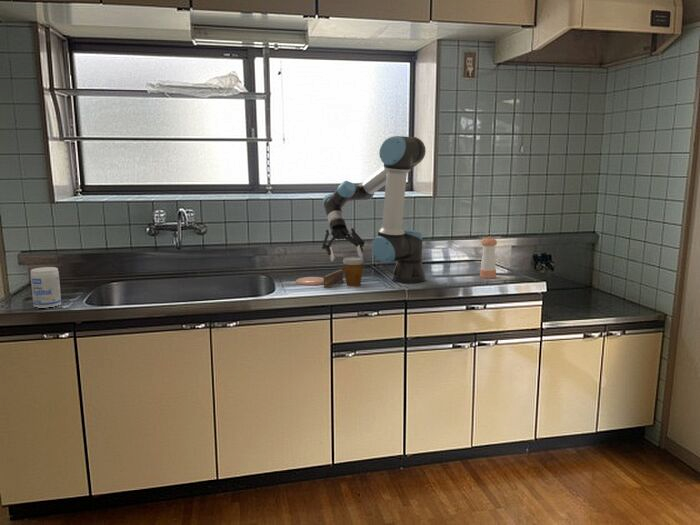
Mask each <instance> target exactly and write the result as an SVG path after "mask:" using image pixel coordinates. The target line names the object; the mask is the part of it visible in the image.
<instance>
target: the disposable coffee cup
mask: <svg viewBox="0 0 700 525" xmlns="http://www.w3.org/2000/svg"><path fill="white" fill-rule="evenodd" d="M364 262H365V260H364V258H361V257H359V256H347V257H343V260H342V264H343V269H344V275H345V276H344V277H345V283H346V284H345V285H346V286H347V287H359V286H361V285H362V284H361V283H362V275H363V268H364Z"/></svg>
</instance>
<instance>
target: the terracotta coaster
mask: <svg viewBox="0 0 700 525" xmlns="http://www.w3.org/2000/svg"><path fill="white" fill-rule="evenodd" d="M295 284H297V285H301V286H321V284H322V285H324V277H321V276H305V277H300V278H297V279H296V280H295Z"/></svg>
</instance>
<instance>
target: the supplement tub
mask: <svg viewBox="0 0 700 525" xmlns="http://www.w3.org/2000/svg"><path fill="white" fill-rule="evenodd" d="M60 284H61V283H60V272H59V268H58V267H55V266H43V267H36V268H32V269H30V285H31V295H32V305H33V307H34V308H35V307H38V308H46V307H53V308H56V307H55V306H57V307H59V306H61V305H62V296H61V295H62V294H61V285H60ZM58 305H59V306H58ZM38 308H37V309H38Z"/></svg>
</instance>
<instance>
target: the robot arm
mask: <svg viewBox="0 0 700 525" xmlns="http://www.w3.org/2000/svg"><path fill="white" fill-rule="evenodd" d="M426 149H427V148H426V146H425V143H424V141H423V140H422V139H421V138H419V137H416V136H402V135H401V136H399V135H395V136H394V135H393V136H389V137H387V138H386V139H385V140H383V141H382V143H381V145H380V148H379V151H378V153H379V159H380V160H381V162H382V163H383V166H382V167H381V168H379V169H377V170H376V171H374V173H372V174H371V175H369V177H367V178H365V179H364V180H363V181H362V182H360V183H359V184H354V183H353V182H351V181H349V180H344V181H342V182H341V184H340V185H338V186H337V188H336V189H335V191H334V192H333V193H328V194H326V195H325V196H324V197H323V199H322V201H323V208H324V210H325V213H326V214H325V215H326V217H327V221H328V225H329V228H330V229H326V230H325V232H324V236H325V237H324V240H323V242H322V246H321V250H325V251H326V253H327V255H328V256H330V262H331V263H333V262H334V261H335V255H334V252H333V247H332V245H333V243H334V242H335V241H336V240H337V241H338V240H339V241H340V240H346V241H348V242H350V243H351V244H353V245H354V246H355V247H356V252H357V254H358V257H361V258H363V257H364V256H363V252H364V249H363V247H364V246H365V241H364V240H363V239H362V237H360V236H359V234H358V233H357V232H356V231H355V229H354V228H351V229H348V228H347V224H346V221H345V217H344V214H343V211H342V210H343V207H344V206H345V205H346V203H348V202H353V201H367V200H371V199H373V197H374V195H375V193H376V192H377V191H379V190H380V189H381V188H383V187H384V186H385V188H384V189H385V190H384V202H383V212H382V221H381V222H382V223H381V227H380V228H379V229H378V231H377V236H376V237H374V239H373V240H372V242H371V246H370V247H371V252H372V254H373V256H374V257H375V259H376V260H378V261H379V262H381V263H392V262H396V264H395V266H394V269H393V272H392V281H394V282H397V281H398V283H403V282H404V283H405V284H407V283H408V284H414V283H422V282H425V280H426V272H425V270H424V266H423V263H422V261H423V256H422V255H423V241H424V240H423V232H421V231H419V230H408V229H402V225H403V217H404V207H405V197H406V186H407V174H409V172H410V171H412V169H413V168H415V167H416V166H417V165H419V164H420V163H421V162H422V161H423V160H424V158H425V156H426ZM329 236H332V237H331V239H330V240H329V242H328V244H327V241H328V239H329ZM363 259H364V258H363Z"/></svg>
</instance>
